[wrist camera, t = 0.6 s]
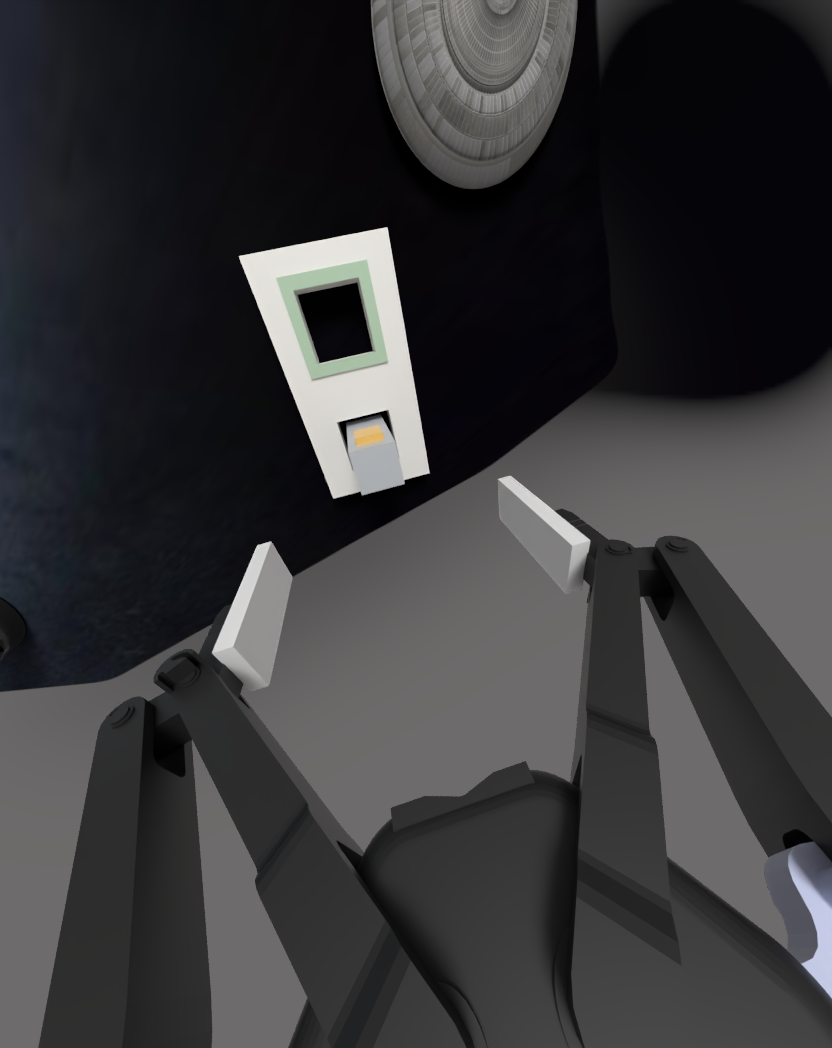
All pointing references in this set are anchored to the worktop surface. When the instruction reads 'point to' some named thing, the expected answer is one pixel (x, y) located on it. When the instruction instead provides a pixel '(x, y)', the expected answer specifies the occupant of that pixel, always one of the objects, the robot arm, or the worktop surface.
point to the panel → (350, 380)
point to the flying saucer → (473, 80)
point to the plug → (373, 455)
